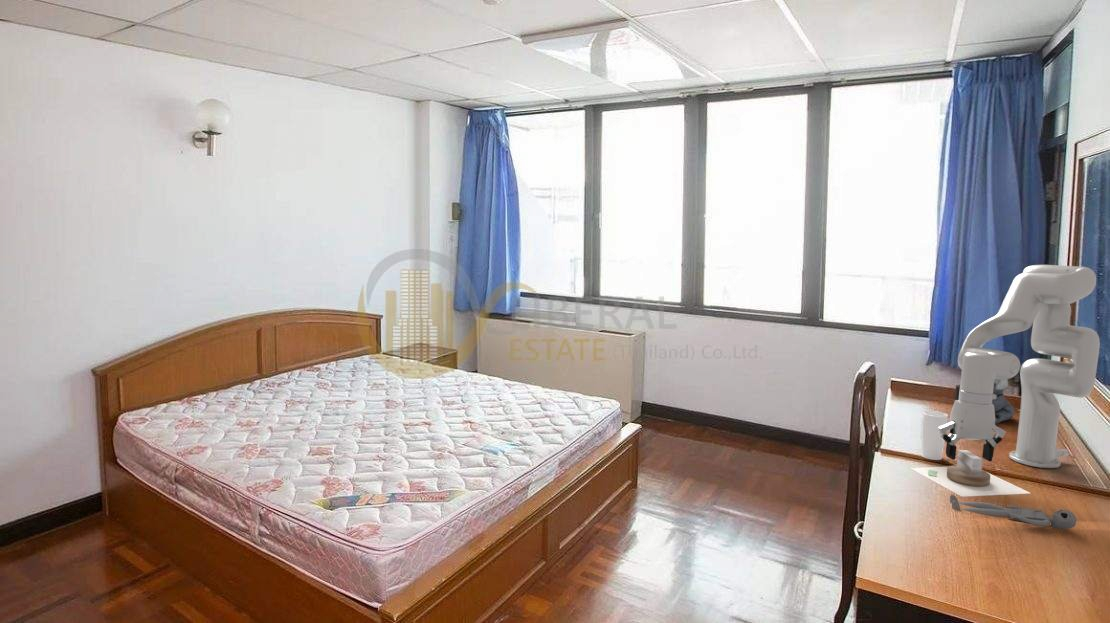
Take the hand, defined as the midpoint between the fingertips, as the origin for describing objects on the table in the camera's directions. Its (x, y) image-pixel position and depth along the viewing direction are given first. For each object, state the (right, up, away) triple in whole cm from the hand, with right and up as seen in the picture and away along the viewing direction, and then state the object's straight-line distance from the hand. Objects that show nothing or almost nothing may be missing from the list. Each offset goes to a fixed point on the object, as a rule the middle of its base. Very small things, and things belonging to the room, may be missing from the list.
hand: (968, 458), depth 175 cm
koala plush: (+49, 0, +67) cm, 83 cm away
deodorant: (+32, -1, +53) cm, 62 cm away
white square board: (0, -8, +1) cm, 8 cm away
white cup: (+1, -5, +19) cm, 20 cm away
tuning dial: (0, -5, +3) cm, 6 cm away
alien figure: (-3, -11, -20) cm, 23 cm away
